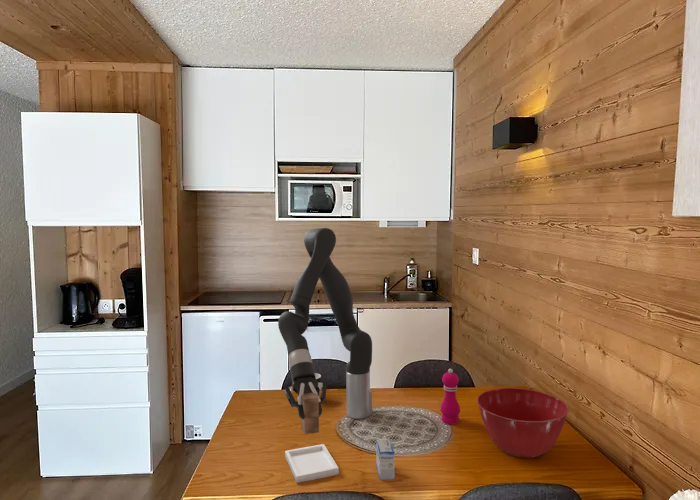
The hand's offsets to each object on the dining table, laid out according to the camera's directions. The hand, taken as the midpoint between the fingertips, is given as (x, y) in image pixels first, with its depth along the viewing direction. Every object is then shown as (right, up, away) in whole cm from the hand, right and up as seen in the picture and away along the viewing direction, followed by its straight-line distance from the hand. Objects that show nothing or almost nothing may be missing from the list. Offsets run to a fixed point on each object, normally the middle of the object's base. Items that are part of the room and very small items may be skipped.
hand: (311, 416), depth 147 cm
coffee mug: (-5, -12, +57) cm, 58 cm away
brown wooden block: (-1, -5, +2) cm, 5 cm away
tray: (0, -16, +3) cm, 17 cm away
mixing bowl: (+68, -15, +12) cm, 71 cm away
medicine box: (+22, -17, -2) cm, 28 cm away
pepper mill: (+49, -13, +33) cm, 61 cm away
